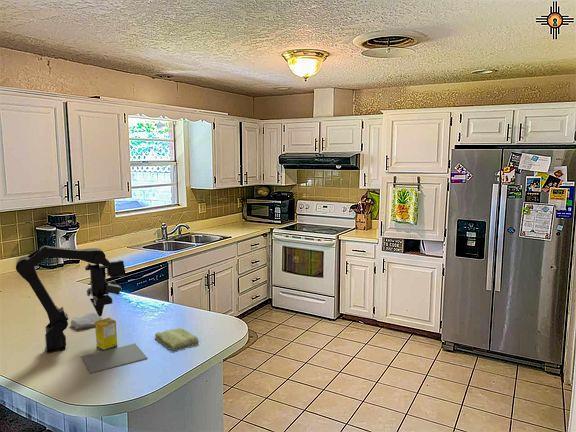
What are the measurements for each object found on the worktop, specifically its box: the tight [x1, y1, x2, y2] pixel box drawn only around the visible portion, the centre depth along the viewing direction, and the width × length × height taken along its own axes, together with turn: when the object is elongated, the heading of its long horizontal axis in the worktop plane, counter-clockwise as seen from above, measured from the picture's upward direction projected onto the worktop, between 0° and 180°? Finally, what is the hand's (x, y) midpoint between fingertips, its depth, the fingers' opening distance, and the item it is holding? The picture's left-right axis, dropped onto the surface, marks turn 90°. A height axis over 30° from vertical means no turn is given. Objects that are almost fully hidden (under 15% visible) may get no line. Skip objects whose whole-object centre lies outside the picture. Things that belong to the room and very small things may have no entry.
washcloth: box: [154, 327, 199, 351], centre depth 180 cm, size 13×18×3 cm
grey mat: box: [81, 343, 148, 374], centre depth 164 cm, size 20×16×1 cm
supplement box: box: [94, 317, 118, 351], centre depth 173 cm, size 6×6×11 cm
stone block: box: [70, 312, 103, 330], centre depth 198 cm, size 12×5×10 cm
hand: (100, 316), depth 180 cm, fingers closed
